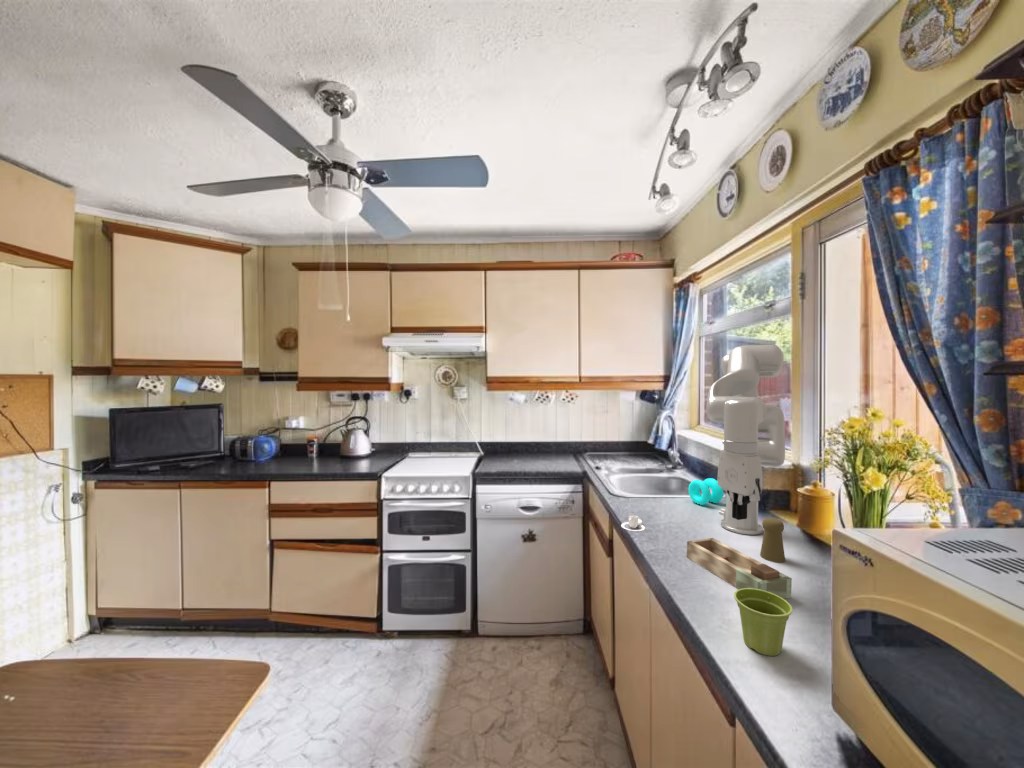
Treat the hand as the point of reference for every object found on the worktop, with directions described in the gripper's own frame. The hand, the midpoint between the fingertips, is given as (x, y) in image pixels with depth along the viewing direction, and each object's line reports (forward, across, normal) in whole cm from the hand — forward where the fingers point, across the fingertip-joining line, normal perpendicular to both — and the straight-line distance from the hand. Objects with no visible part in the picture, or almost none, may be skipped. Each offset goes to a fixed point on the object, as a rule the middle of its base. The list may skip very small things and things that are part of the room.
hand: (739, 518), depth 101 cm
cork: (+16, -6, +18) cm, 25 cm away
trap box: (+15, -1, -1) cm, 15 cm away
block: (+13, +8, -1) cm, 16 cm away
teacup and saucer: (+16, -36, -4) cm, 40 cm away
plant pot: (+15, +22, -18) cm, 32 cm away
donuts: (+17, -51, +36) cm, 65 cm away
